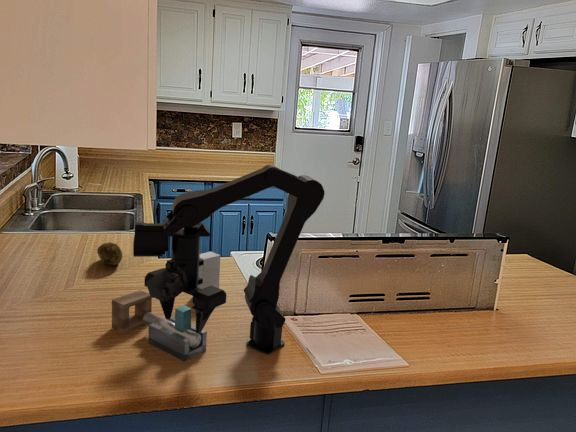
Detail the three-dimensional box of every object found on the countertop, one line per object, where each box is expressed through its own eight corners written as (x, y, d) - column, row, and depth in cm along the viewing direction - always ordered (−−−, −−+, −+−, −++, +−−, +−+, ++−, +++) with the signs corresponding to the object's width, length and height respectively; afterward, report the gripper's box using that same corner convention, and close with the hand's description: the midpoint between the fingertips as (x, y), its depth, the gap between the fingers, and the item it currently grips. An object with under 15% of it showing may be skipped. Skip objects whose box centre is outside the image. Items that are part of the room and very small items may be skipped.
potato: (129, 259, 157) (129, 235, 155) (118, 273, 144) (118, 247, 143) (102, 257, 156) (102, 233, 154) (89, 271, 144) (89, 245, 142)
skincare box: (208, 291, 137) (210, 250, 134) (219, 296, 134) (221, 254, 131) (191, 297, 132) (193, 255, 129) (202, 302, 129) (204, 259, 127)
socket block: (151, 322, 116) (151, 294, 114) (123, 333, 109) (123, 304, 108) (140, 317, 118) (140, 290, 116) (111, 328, 112) (111, 299, 110)
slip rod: (200, 344, 104) (202, 312, 102) (190, 349, 101) (192, 316, 99) (153, 322, 112) (153, 291, 110) (142, 326, 109) (143, 295, 107)
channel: (206, 350, 105) (206, 331, 104) (184, 361, 100) (185, 341, 99) (170, 333, 111) (171, 315, 110) (148, 343, 106) (148, 324, 105)
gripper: (123, 253, 99) (123, 324, 102) (189, 277, 89) (186, 355, 92) (165, 242, 108) (164, 308, 111) (230, 263, 98) (225, 334, 101)
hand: (183, 325), depth 104 cm, fingers open, 9 cm apart
